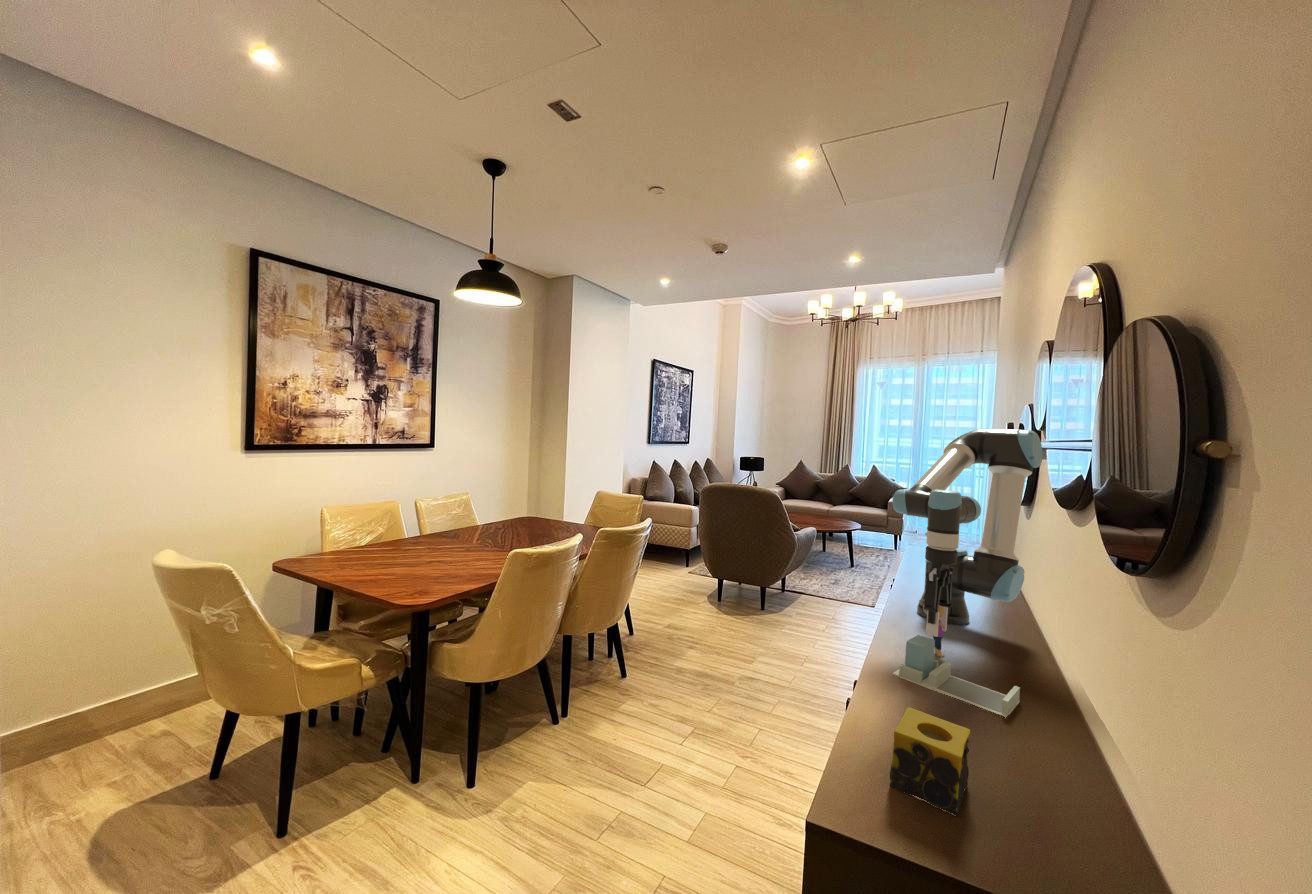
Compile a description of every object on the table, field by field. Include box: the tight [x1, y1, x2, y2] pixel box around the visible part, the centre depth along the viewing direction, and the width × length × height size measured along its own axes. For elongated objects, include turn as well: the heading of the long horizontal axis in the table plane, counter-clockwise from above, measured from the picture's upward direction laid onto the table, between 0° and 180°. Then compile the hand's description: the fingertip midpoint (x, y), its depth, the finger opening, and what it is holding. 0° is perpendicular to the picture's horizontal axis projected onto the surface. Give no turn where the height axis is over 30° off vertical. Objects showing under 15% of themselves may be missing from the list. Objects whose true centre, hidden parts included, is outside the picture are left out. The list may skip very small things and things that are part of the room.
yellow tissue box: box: [889, 706, 971, 816], centre depth 83 cm, size 10×10×10 cm
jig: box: [892, 659, 1021, 719], centre depth 118 cm, size 11×24×4 cm, turn 42°
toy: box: [918, 598, 945, 658], centre depth 136 cm, size 10×6×15 cm, turn 170°
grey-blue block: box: [904, 634, 935, 679], centre depth 124 cm, size 7×4×8 cm, turn 131°
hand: (936, 632), depth 136 cm, fingers closed on toy, 6 cm apart
